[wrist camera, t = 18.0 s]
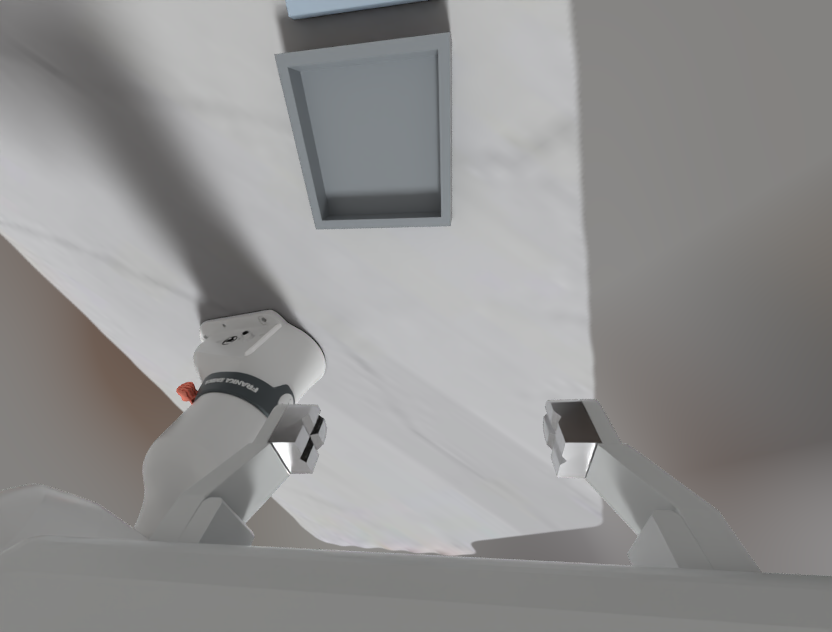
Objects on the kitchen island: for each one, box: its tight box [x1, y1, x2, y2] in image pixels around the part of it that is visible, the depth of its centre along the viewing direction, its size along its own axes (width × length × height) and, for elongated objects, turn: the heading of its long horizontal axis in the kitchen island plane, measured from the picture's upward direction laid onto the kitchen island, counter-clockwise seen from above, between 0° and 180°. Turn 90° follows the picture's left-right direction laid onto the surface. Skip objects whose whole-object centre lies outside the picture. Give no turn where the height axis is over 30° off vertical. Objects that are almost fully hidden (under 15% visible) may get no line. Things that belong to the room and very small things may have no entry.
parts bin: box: [274, 32, 452, 229], centre depth 32 cm, size 16×16×4 cm
